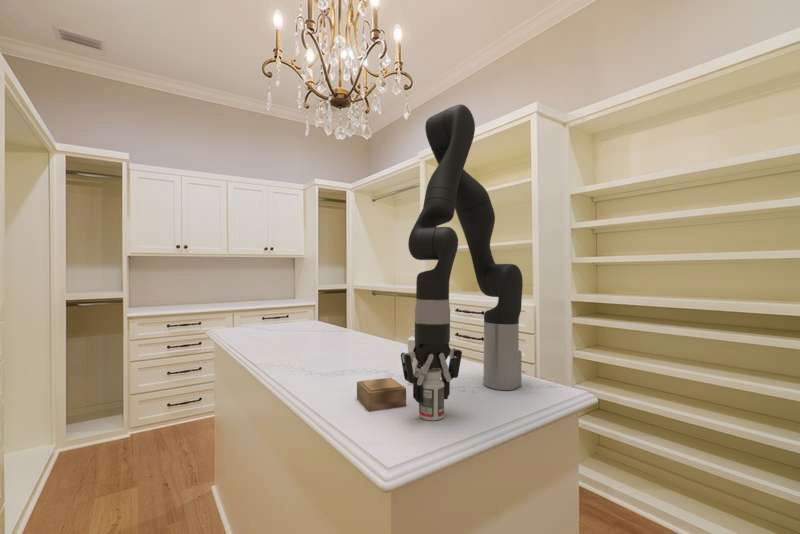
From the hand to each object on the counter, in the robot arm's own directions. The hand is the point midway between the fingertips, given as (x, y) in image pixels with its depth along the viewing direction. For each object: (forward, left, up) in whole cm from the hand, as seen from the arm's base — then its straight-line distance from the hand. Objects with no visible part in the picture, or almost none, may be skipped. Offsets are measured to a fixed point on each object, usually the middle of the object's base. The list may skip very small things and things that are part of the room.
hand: (431, 399), depth 78 cm
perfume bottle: (-7, -22, -4) cm, 23 cm away
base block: (+7, -12, -4) cm, 14 cm away
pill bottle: (0, 0, -4) cm, 4 cm away
